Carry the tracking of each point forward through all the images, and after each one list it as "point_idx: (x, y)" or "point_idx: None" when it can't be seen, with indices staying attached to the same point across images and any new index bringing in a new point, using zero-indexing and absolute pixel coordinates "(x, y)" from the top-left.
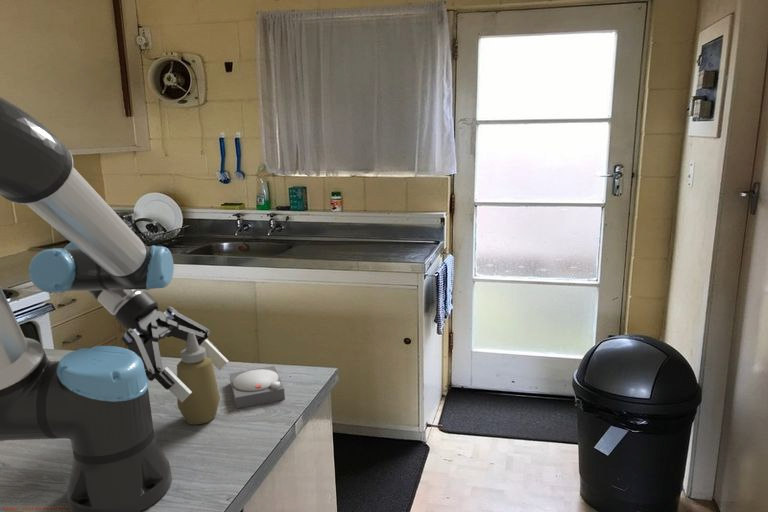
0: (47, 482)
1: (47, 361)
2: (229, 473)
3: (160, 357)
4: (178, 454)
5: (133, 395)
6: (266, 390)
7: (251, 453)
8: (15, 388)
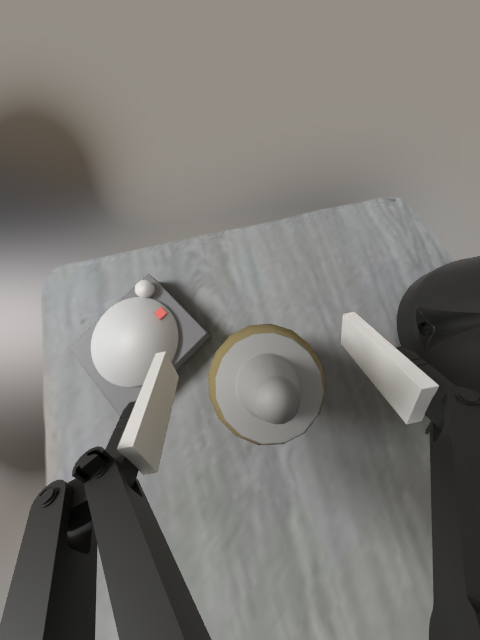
0: None
1: None
2: (354, 230)
3: (452, 448)
4: None
5: None
6: (164, 297)
7: (304, 234)
8: None
